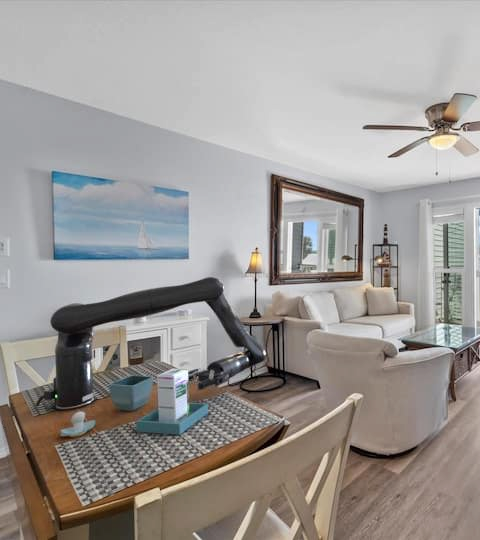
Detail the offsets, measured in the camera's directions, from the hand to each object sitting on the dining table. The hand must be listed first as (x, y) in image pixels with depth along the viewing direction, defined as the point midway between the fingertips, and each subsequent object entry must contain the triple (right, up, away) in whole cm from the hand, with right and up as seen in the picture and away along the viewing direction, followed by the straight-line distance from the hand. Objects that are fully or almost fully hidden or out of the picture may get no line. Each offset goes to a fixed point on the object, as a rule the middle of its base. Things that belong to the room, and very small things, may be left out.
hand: (187, 385), depth 102 cm
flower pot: (-20, -9, +5) cm, 23 cm away
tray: (-2, -9, -5) cm, 10 cm away
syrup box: (-2, -9, -5) cm, 10 cm away
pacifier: (-25, -10, -11) cm, 29 cm away
